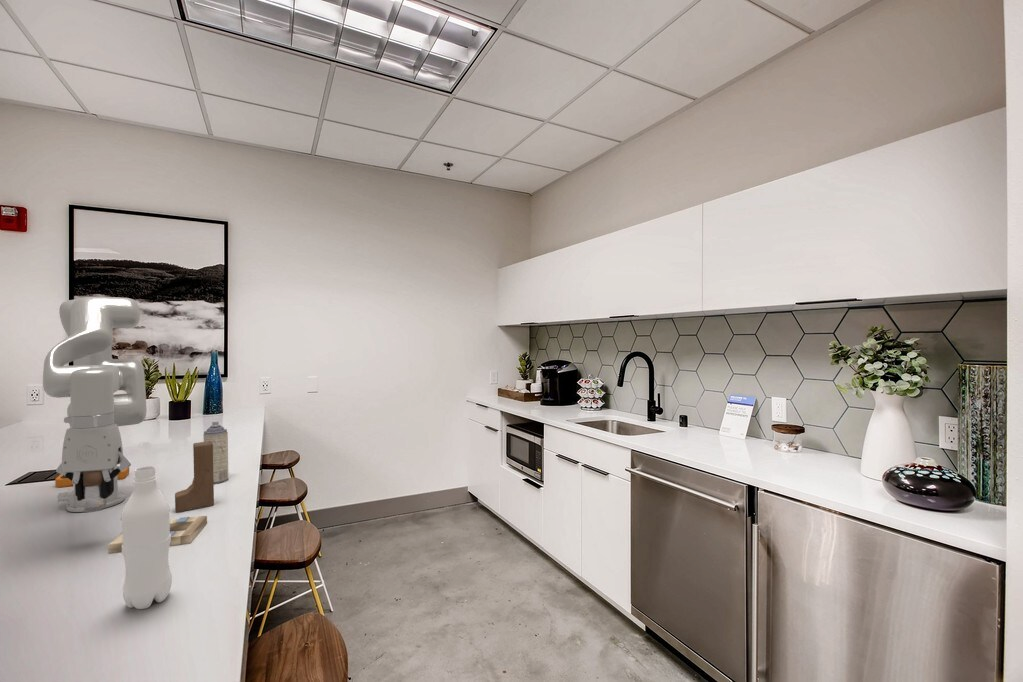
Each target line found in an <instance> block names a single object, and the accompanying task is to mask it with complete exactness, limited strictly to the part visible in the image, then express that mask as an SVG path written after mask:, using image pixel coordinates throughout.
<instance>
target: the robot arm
mask: <svg viewBox="0 0 1023 682" xmlns="http://www.w3.org/2000/svg"><path fill="white" fill-rule="evenodd" d="M58 313H59V319H60V322H61V325H62V328H63V329H64V331H65V333H66V335H67V337H66V338H64V339H62V340H61V341H60V342H58V343H57V344H56V345H55V346H53V347H52V348H51V349H50V351H48V352H47V354H46V355H45V359H44V362H43V370H42V371H43V372H42V387H43V391H44V392H45V393H46V395H47V396H49V397H51V398H57V399H59V398H60V399H62V398H70V403H69V404H68V406H67V408H66V414H67V415H66V416H64V420H63V423H65V424H69V428H67V429H66V430H65V434H64V438H63V445H62V451H61V462H60V463H59V465H58V467H57V468H56V470H55V472H56V473H58V474H59V475H61V474H62V475H65V476H66V477H67V478H68V479H70V480H71V481H72V483H73V485H74V486H73V491H72V492H60V493H58V495H56V496H57V497H56V498H57V502H58V503H59V502H68V503H67V505H66V507H65V508H66V511H67V512H71V513H85V512H84V496H83V472H87V471H101V470H102V473H103V477H104V482H102V484H101V487H102V498H103V499H106V503H107V507H106V508H105V509H107V508H110V507H112V506H116V505H118V504H120V503H122V502H123V501H124V500H125V498H126V497H125V494H124V493H122V492H121V493H120V492H119V488H118V485H119V483H118V481H119V480H117V475H118V474H119V473H120V472H121V471H123V470H125V469H126V468H128V467H129V468H130V467H131V465H132V464H131V462H130V461H129V460H128V459H127V458H126V457H125V455H124V449H123V443H122V435H121V432H120V431H121V430H120V428H119V427H123V426H124V427H126V426H133V425H138V424H140V423H142V422H144V421H145V419H146V417H147V410H148V409H147V394H146V392H147V391H146V378H145V370H144V366H143V364H142V363H141V361H140V360H138V359H134V358H113V354H112V345H113V342H114V332H113V331H114V330H113V329H132V328H133V329H134V328H135V327H137V326H138V324H139V323H140V321H141V320H140V319H141V310H140V306H139V304H138V303H137V301H135V299H132V298H129V297H115V296H113V297H112V296H84V297H79V298H77V299H76V298H75V299H69V300H65V301H63V302H62V303H61V304H60V305H59V312H58ZM72 362H73V365H67V364H69V363H72ZM118 391H123V392H125V393H121V394H120V393H118V394H115V393H117V392H118ZM118 466H119V467H118ZM117 467H118V468H117Z"/></svg>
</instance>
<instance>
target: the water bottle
mask: <svg viewBox="0 0 1023 682" xmlns="http://www.w3.org/2000/svg"><path fill="white" fill-rule="evenodd" d="M157 480H158V477H157V474H156V466H152V465H151V466H150V465H149V466H142V467H138V468H136V469H135V470H134V478H133V482H132V484H133V485H134V487H133V491H132V493H131V495H130V496H129V498H128V500H127V502H126V503H125V505H124V507H123V510H122V512H121V517H120V520H121V527H122V530H121V534H122V539H123V544H122V552H121V553H122V556H123V559H124V565H125V577H124V581H123V582H124V583H123V585H122V598H123V601H124V603H125V604H126V606H127V607H128V608H131V609H132V608H135V609H137V610H145V609H148V608H149V607H150V606H151V605H152V603H153V601H154V600H155V601H156V602H157V603H162V602H163V601H165V600H166V598H167V597H168V595H169V594H170V591H171V587H172V583H173V579H172V578H173V576H172V572H171V569H170V565H169V552H170V547H171V546H170V541H171V534H170V520H171V519H170V516H171V515H170V513H171V512H170V511H171V506H170V503H169V501H168V499H167V497H165V496H166V495H164V494H163V492H162V491H161V490H160V488H159V487H158V485H157Z"/></svg>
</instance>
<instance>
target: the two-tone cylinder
mask: <svg viewBox="0 0 1023 682" xmlns="http://www.w3.org/2000/svg"><path fill="white" fill-rule="evenodd" d="M102 482H104V477H103V473H102V470H101V471H87V472H83V496H84V512H83V513H93V512H98V511H101V510H104V509H107V508H108V507H107V503H106V499H103V498H102V487H101V484H102ZM106 507H107V508H106Z"/></svg>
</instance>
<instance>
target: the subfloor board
mask: <svg viewBox="0 0 1023 682" xmlns="http://www.w3.org/2000/svg"><path fill="white" fill-rule="evenodd" d="M207 524H208V515H201V516H191V517H190V516H182V517H179V518H173V519H172V518H171V519H170V534H171V541H170V546H169V547H172V546H179V545H180V546H181V545H186V544H191V543H192V542H193V541H194V540H195V538H196V537H197V536H198V535H199V534H200V532H201V531H202V530H203V529H204V527H206V525H207ZM122 544H123V539H122V533H120V534H119V535H117V537H116V538H114V539H113V540H112V541H111V542H110V543H108V545H107V546H108V548H107V549H108V554H113V553H122Z"/></svg>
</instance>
